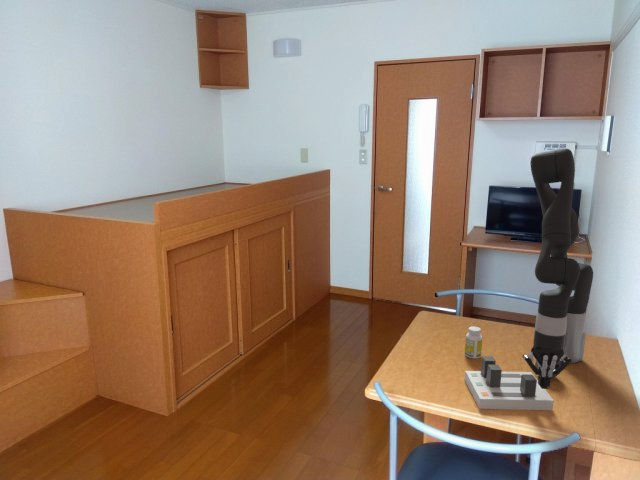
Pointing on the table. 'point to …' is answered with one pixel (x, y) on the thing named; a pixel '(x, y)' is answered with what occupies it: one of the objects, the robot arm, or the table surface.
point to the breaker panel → (503, 389)
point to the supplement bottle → (473, 342)
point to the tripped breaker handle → (528, 385)
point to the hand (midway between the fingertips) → (543, 387)
